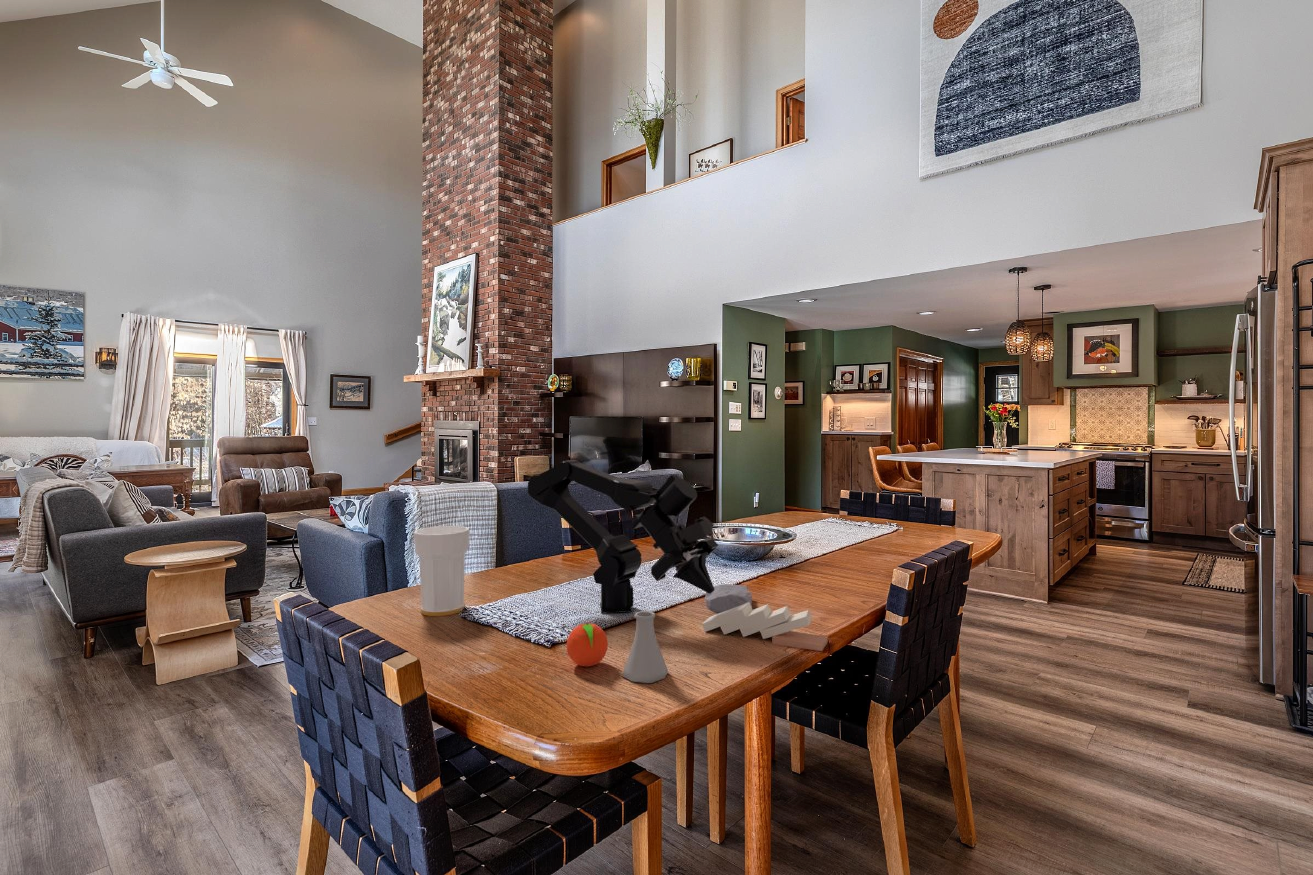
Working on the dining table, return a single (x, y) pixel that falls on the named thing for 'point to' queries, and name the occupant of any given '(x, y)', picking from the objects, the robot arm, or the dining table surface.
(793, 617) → the domino
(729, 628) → the domino
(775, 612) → the domino
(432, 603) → the cup
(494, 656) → the dining table surface
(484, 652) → the dining table surface
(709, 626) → the domino
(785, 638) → the domino
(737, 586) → the stone block
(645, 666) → the flask
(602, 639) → the clementine
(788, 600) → the dining table surface
